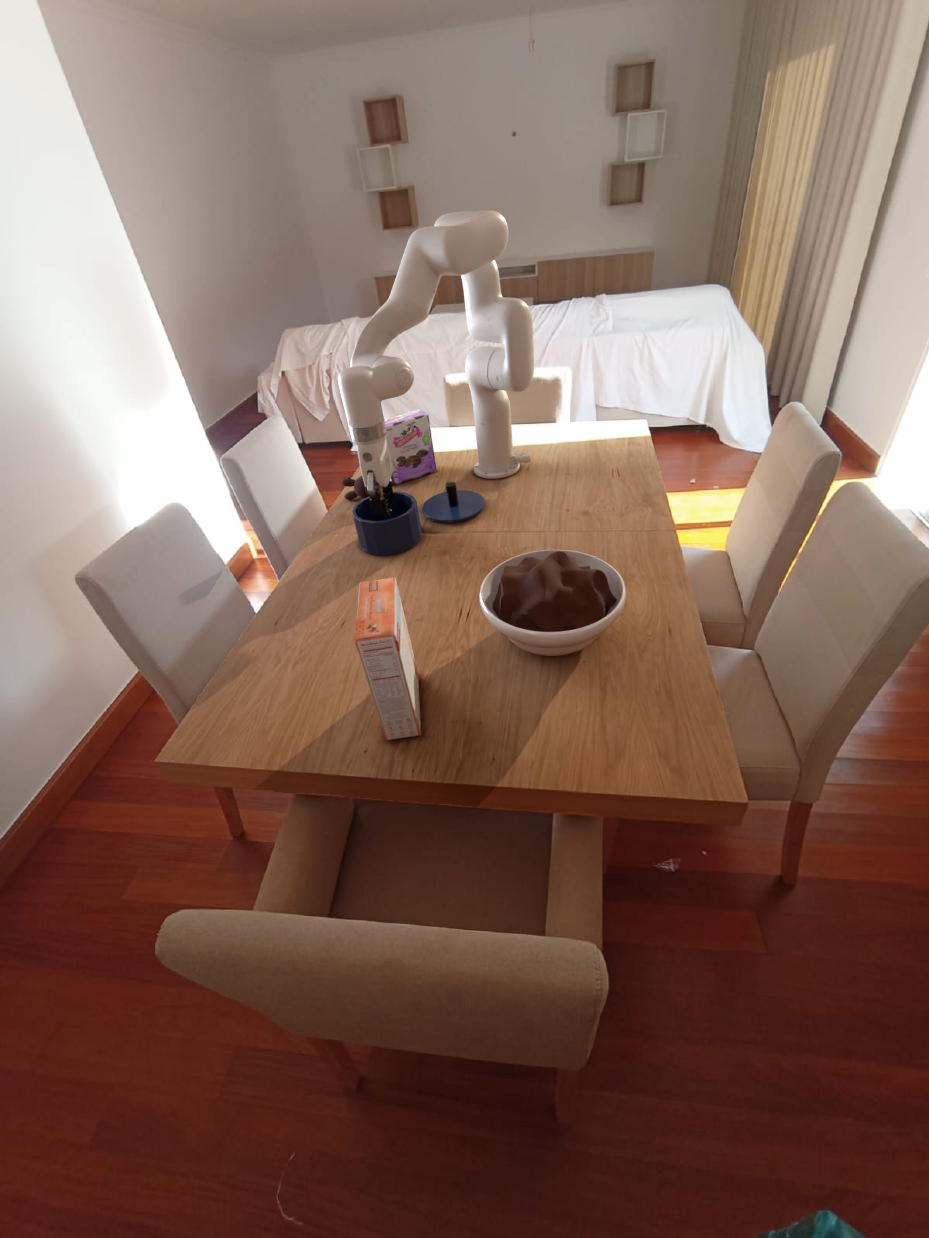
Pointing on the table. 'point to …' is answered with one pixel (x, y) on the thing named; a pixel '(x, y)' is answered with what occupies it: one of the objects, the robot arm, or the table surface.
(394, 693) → the cracker box
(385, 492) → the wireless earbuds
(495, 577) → the chocolate pudding bowl
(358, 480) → the icecream
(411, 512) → the pot
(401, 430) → the candy box
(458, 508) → the lid
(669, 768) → the table surface
